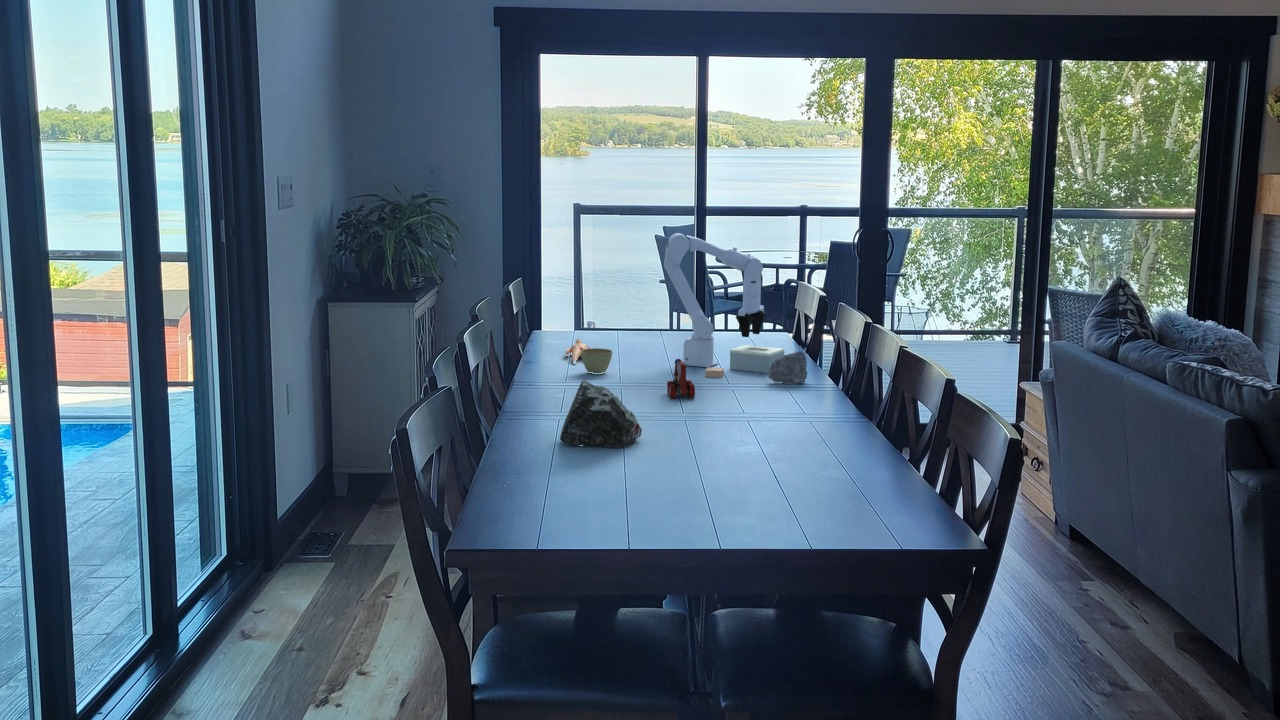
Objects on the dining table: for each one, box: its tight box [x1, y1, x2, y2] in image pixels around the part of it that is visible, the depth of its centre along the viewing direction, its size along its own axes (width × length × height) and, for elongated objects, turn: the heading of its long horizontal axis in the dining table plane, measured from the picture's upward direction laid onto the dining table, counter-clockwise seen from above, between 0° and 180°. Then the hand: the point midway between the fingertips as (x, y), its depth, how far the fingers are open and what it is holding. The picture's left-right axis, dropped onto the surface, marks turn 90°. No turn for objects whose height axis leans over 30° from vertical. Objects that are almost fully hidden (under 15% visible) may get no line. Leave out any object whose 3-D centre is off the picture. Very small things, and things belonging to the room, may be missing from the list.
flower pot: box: [580, 347, 613, 373], centre depth 341 cm, size 10×10×7 cm
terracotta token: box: [704, 367, 725, 379], centre depth 339 cm, size 5×5×2 cm
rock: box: [767, 350, 808, 384], centre depth 328 cm, size 12×5×10 cm, turn 87°
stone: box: [559, 379, 643, 449], centre depth 255 cm, size 19×18×15 cm
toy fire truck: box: [666, 358, 696, 400], centre depth 308 cm, size 7×12×10 cm, turn 6°
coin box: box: [729, 344, 785, 374], centre depth 351 cm, size 14×11×6 cm
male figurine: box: [564, 338, 591, 362], centre depth 368 cm, size 11×5×25 cm
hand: (750, 335), depth 356 cm, fingers open, 7 cm apart
